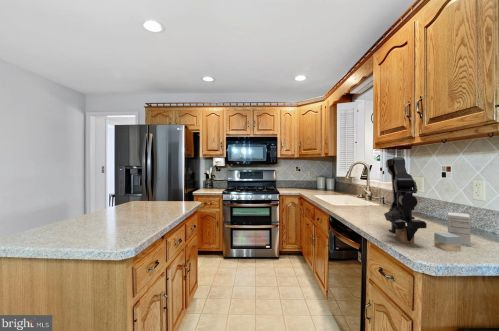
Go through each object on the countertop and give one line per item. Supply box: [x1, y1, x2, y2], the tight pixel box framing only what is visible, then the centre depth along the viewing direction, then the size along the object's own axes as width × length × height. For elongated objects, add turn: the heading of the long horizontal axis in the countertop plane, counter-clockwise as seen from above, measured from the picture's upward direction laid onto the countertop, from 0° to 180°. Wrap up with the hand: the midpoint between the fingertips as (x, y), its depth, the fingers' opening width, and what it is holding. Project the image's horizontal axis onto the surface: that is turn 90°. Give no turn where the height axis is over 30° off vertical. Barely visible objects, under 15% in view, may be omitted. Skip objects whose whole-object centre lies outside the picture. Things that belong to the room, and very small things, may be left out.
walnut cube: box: [395, 229, 415, 244], centre depth 108 cm, size 5×5×5 cm
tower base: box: [433, 240, 462, 252], centre depth 99 cm, size 6×6×3 cm
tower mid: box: [433, 232, 461, 245], centre depth 99 cm, size 6×6×3 cm
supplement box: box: [447, 212, 472, 247], centre depth 106 cm, size 7×7×13 cm
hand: (404, 239), depth 108 cm, fingers closed on walnut cube, 5 cm apart
